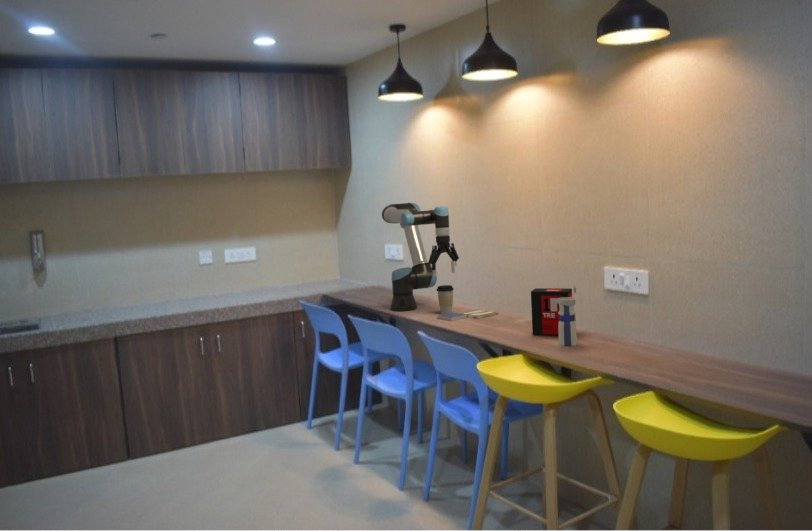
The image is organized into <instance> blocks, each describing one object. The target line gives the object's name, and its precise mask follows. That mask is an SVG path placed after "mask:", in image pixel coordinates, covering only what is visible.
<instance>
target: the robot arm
mask: <svg viewBox="0 0 812 531" xmlns="http://www.w3.org/2000/svg"><path fill="white" fill-rule="evenodd" d="M381 218H382V220H383V221H384V222H385V223H386V224H387V223H388V224H400V225H399V226H400V227H401V229H403V230H404V233H405V238H406V242H407V247H408V250H409V255H410V259H411V262H412V266H411V267H408V266H407V267H401V268H397V269H394V270H393V271H392V272H391V285H392V286H391V287H392V289H391V290H392V299H391V303H390V311H393V312H394V311H395V312H407V311H413V310H417V308H418V304H417V302H416V299H415V296H414V294H413V293H414V290H421V289H422V290H423V289H429V288H433V287H435V286H436V284H437V281H438V263H437V261H439V258H440V257H441V255H442V254H445V253H446V254H447V255H448V257H449V258H450V259H451V260H450V265H451V266H450V268H451V273H452V274H456V273H457V268H456V267H457V261H458V260H459V259H460V257H459V254H458V252H457V250H456V248H455V243H453V242H451V236H450V212H449V207H448V206H435V207H434V209H428V210H421V208H420V206H419V205H418V204H417V203H415V202H406V203H392V204H389V205H387V206H385V207H383V209H382V212H381ZM423 225H435V227H434V228H435V233H434V234H435V243H436V245H434V244H432V246H431V247H432V248H431V253H430V256H429V259H428V260H427V255H426V251H425V248H424V244H423V240H422V237H421V233H420V229H419V226H423Z"/></svg>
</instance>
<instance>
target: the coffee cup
mask: <svg viewBox="0 0 812 531" xmlns="http://www.w3.org/2000/svg"><path fill="white" fill-rule="evenodd" d="M436 291H437V297H438V298H437V299H438V304H439V307H440V315H443V314H447V313H452V312H453V303H454V287H453V285H451V284H450V285H448V284H443V285H438V286H437V287H436Z"/></svg>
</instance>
